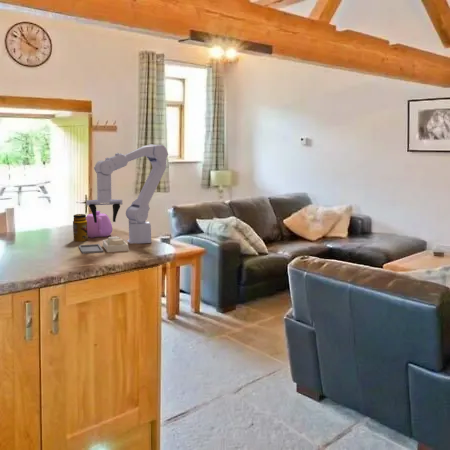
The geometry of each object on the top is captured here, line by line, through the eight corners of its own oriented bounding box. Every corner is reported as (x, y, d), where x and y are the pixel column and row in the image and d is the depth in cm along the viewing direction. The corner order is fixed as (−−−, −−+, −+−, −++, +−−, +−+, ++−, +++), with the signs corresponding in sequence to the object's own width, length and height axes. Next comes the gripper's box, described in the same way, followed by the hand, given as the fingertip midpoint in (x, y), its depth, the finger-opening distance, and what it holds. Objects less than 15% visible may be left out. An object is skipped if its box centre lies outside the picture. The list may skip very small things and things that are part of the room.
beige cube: (118, 248, 213) (118, 238, 212) (123, 249, 210) (123, 240, 209) (109, 249, 210) (109, 239, 209) (114, 251, 207) (114, 241, 206)
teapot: (115, 238, 235) (115, 212, 233) (85, 240, 230) (84, 214, 228) (107, 231, 253) (107, 207, 251) (80, 232, 248) (79, 208, 246)
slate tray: (99, 246, 217) (98, 243, 217) (103, 253, 205) (103, 250, 205) (78, 248, 214) (78, 245, 214) (82, 254, 202) (82, 251, 202)
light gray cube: (117, 245, 217) (117, 236, 216) (120, 247, 214) (120, 237, 213) (108, 246, 215) (108, 237, 215) (111, 248, 212) (110, 238, 211)
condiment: (90, 242, 227) (89, 215, 225) (71, 244, 222) (70, 216, 220) (85, 239, 233) (84, 213, 231) (66, 241, 228) (65, 214, 226)
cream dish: (123, 245, 220) (122, 238, 219) (128, 251, 208) (128, 244, 208) (102, 247, 217) (102, 240, 216) (107, 253, 205) (107, 246, 205)
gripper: (120, 188, 220) (120, 219, 223) (85, 189, 215) (85, 221, 217) (123, 190, 214) (123, 222, 216) (87, 190, 209) (87, 223, 211)
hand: (104, 222), depth 216 cm, fingers open, 7 cm apart
